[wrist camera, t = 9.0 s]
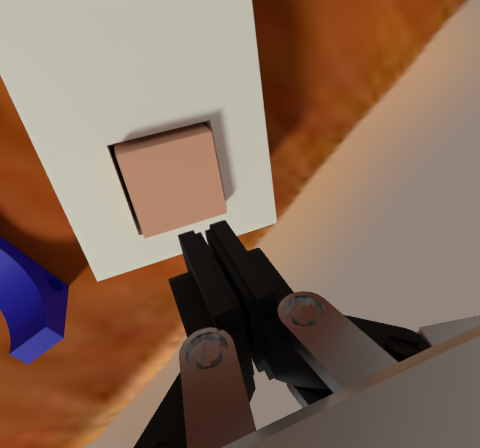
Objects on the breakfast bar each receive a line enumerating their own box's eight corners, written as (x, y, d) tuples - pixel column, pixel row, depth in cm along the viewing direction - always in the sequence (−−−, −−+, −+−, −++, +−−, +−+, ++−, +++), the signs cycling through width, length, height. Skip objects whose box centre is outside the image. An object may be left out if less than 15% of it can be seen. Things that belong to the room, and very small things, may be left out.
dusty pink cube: (110, 125, 23) (115, 155, 18) (185, 108, 24) (211, 131, 19) (133, 194, 26) (144, 238, 20) (200, 175, 27) (227, 212, 21)
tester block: (-79, -182, 16) (-176, -300, 10) (180, -194, 19) (219, -293, 13) (96, 228, 28) (97, 281, 22) (241, 185, 30) (276, 222, 24)
